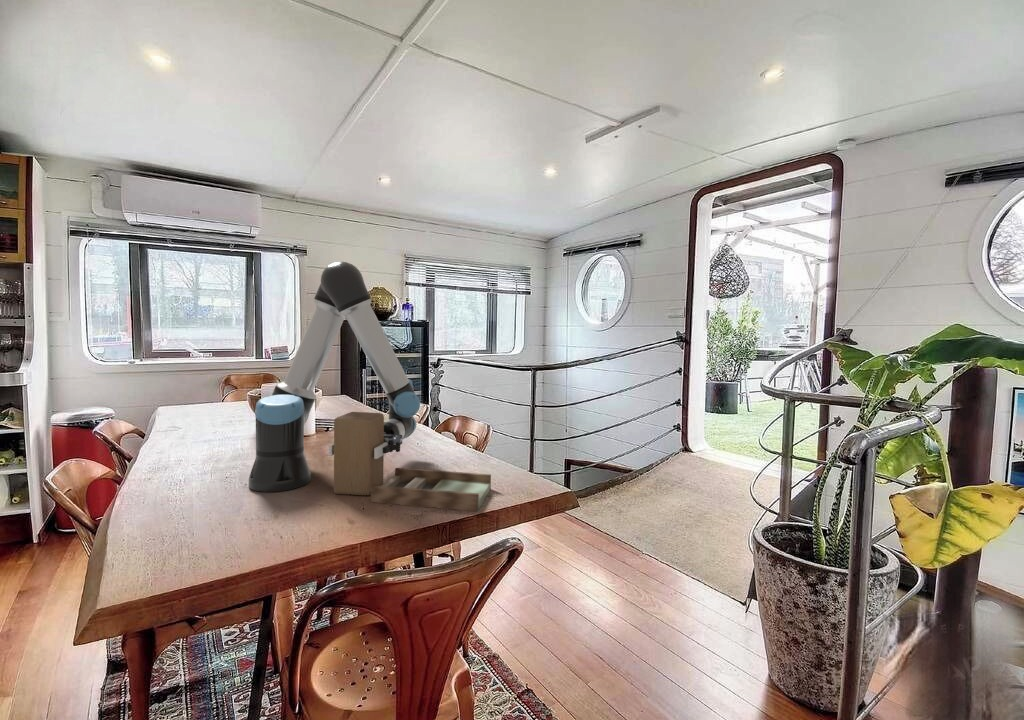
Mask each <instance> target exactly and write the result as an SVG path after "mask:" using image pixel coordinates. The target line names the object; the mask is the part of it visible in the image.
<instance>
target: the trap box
mask: <svg viewBox="0 0 1024 720" xmlns="http://www.w3.org/2000/svg"><path fill="white" fill-rule="evenodd" d="M394 469H395V470H394V476H393V477H391V478H390V479H389V480H387V481H386V482H385V483H383V484H382V485H381V486H378V485H372V486H371V495H370V503H373V502H377V503H376V504H385V503H390V504H389V505H397V504H400V505H399V506H409V505H410V507H420V506H424V507H425V508H432V507H438V508H437V509H444V508H448V510H455V511H456V510H457V511H468V512H469V511H470V512H478V511H479V510H480V508H481V507H482V504H483V503H484V502H485V499H486V498H487V496H488V495H489V493H490V491H491V489H492V488H491V487H492V486H491V485H492V483H491V482H492V474H490V473H489V474H488V473H475V472H460V471H449V470H448V471H447V470H435V469H434V470H433V469H419V468H407V467H406V468H405V467H395V468H394ZM488 492H489V493H488ZM424 507H423V508H424ZM439 507H440V508H439Z"/></svg>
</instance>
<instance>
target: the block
mask: <svg viewBox="0 0 1024 720" xmlns="http://www.w3.org/2000/svg"><path fill="white" fill-rule="evenodd" d="M384 422H385V416H384V413H381V412H364V411H363V412H362V411H351V412H348V413H345V414H343V415H340V416H337V417H335V418H334V421H333V430H334V431H333V443H334V455H333V492H334V494H336V495H350V494H351V495H352V496H366V495H367V496H371V486H372V485H378V486H382V485H384V462H385V461H384V455H385V454H384V455H383V456H381V457H379V458H378V459H374V448H376V447H378V446H379V445H381V444H383V443H384Z"/></svg>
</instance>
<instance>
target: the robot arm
mask: <svg viewBox="0 0 1024 720" xmlns="http://www.w3.org/2000/svg"><path fill="white" fill-rule="evenodd" d="M321 273H322V274H321V275H320V284H319V286H318V289H317V290H316V294H315V296H314V298H313V302H314V304H315V309H314V311H313V314H312V316H311V318H310V321H309V323H308V324H307V327H306V330H305V332H304V334H303V336H302V339H301V342H300V343H299V346H298V347H297V349H296V350H297V351H296V353H295V354H294V357H293V359H292V362H291V365H290V366H289V368H288V371H287V373H286V376H285V378H284V380H283V381H280V382H277V383H276V385H275V387H274V389H273V392H272V394H271V395H269V396H265V397H262V398H260V399H259V400H258V401H256V403H255V410H254V416H255V458H254V462H253V464H252V467H251V471H250V473H249V475H248V476H249V477H248V488H249V489H250V490H253V491H256V492H264V493H268V492H269V493H273V492H281V491H282V492H285V491H290V490H293V489H298V488H302V487H304V486H305V485H307V484H309V483H310V482H311V479H312V477H311V476H312V475H311V469H310V468H309V467H310V466H309V464H308V460H307V458H306V456H305V444H304V443H305V442H304V441H305V440H304V439H305V437H304V436H305V435H304V434H305V431H304V430H305V424H306V423H307V421H308V419H309V416H310V413H311V411H312V408H313V406H314V403H315V400H316V398H317V397H316V394H315V392H314V390H315V387H316V386H317V383H318V380H319V378H320V375H321V374H322V371H323V369H324V366H325V365H326V362H327V360H328V358H329V355H330V353H331V350H332V348H333V346H334V343H335V341H336V339H337V336H338V334H339V333H340V330H341V327H342V325H343V323H344V320H345V319H346V320H347V321H346V322H348V324H349V326H350V328H351V330H352V332H353V333H354V335H355V338H356V340H357V342H358V344H359V345H360V347H361V349H362V351H363V353H364V354H365V357H366V359H367V361H368V362H369V364H370V366H371V367H372V370H373V371H374V373H375V375H376V377H377V380H378V381H379V383H380V385H381V387H382V388H383V390H384V392H385V394H386V397H387V399H388V419H387V420H384V443H383V444H381V445H379V446H378V447H376V448H374V459H378V458H379V457H381V456H383V455H386V454H388V453H393V452H394V451H395V452H396V453H400V452H401V445H402V444H403V440H405V439H407V438H409V437H410V436H412V434H414V432H415V431H416V429H417V420H416V419H415V417H414V416H415V415H416V414H417V413H418V412H419V411H420V408H421V402H420V398H419V396H418V395H417V394H416V392H415V389H414V386H413V380H411V379H408V376H407V375H406V372H405V370H404V368H403V367H402V365H401V363H400V361H399V359H398V357H397V355H396V353H395V351H394V349H393V347H392V344H391V343H390V341H389V339H388V337H387V335H386V333H385V332H384V329H383V328H382V325H381V323H380V321H379V319H378V317H377V315H376V314H375V311H374V310H373V308H372V306H371V302H372V297H371V296H370V293H369V290H368V289H367V287H366V284H365V281H364V277H363V274H362V273H361V271H360V270H359V268H357V266H355V265H353V264H352V263H350V262H347V261H334V262H333V263H330V264H328V265H327V266H326V267H325V268H324V270H323V271H322V272H321ZM328 456H330V457H332V456H334V442H333V443H332V444H329V446H328Z"/></svg>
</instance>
